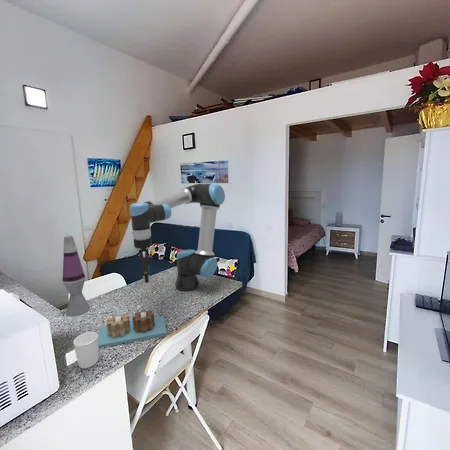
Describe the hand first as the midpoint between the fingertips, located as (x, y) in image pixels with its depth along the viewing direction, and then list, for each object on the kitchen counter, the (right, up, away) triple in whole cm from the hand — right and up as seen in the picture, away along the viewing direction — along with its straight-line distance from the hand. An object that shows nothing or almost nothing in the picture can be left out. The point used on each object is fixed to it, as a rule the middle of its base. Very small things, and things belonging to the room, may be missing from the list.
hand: (146, 282), depth 115 cm
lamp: (-40, -18, +15) cm, 47 cm away
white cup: (-15, -25, -22) cm, 36 cm away
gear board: (-5, -21, -4) cm, 22 cm away
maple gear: (-10, -20, -6) cm, 24 cm away
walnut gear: (0, -20, -3) cm, 20 cm away
